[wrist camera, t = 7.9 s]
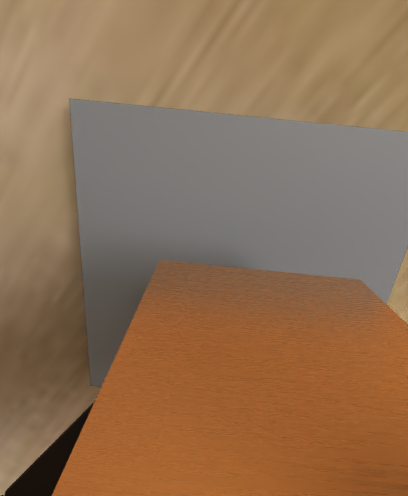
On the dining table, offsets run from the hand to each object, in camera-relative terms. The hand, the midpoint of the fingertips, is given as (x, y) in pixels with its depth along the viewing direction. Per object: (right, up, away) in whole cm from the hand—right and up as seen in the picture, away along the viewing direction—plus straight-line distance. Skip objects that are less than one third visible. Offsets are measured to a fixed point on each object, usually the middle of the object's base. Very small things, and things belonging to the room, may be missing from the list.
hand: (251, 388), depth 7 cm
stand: (0, +2, +6) cm, 7 cm away
